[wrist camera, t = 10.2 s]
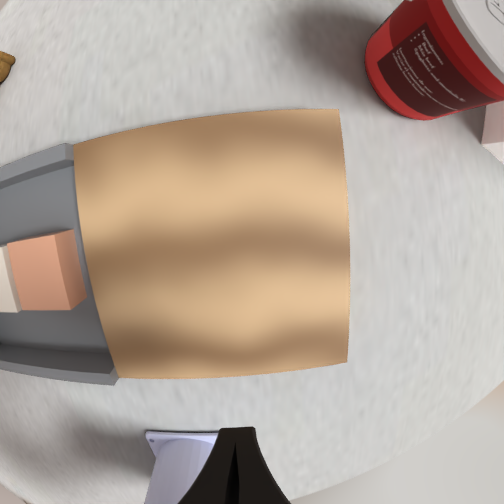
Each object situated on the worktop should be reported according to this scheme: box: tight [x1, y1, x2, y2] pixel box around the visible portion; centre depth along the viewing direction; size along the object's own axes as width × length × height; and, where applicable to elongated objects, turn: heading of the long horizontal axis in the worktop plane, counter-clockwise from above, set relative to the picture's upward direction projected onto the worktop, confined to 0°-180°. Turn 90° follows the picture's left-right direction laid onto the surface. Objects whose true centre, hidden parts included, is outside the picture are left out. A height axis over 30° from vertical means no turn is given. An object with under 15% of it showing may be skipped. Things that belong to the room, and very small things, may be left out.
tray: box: [0, 143, 119, 385], centre depth 17 cm, size 16×16×4 cm
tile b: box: [0, 244, 22, 313], centre depth 17 cm, size 5×5×2 cm
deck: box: [73, 109, 350, 379], centre depth 18 cm, size 16×16×2 cm
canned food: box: [365, 0, 504, 120], centre depth 11 cm, size 8×8×11 cm
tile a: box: [7, 229, 87, 310], centre depth 17 cm, size 5×5×2 cm
